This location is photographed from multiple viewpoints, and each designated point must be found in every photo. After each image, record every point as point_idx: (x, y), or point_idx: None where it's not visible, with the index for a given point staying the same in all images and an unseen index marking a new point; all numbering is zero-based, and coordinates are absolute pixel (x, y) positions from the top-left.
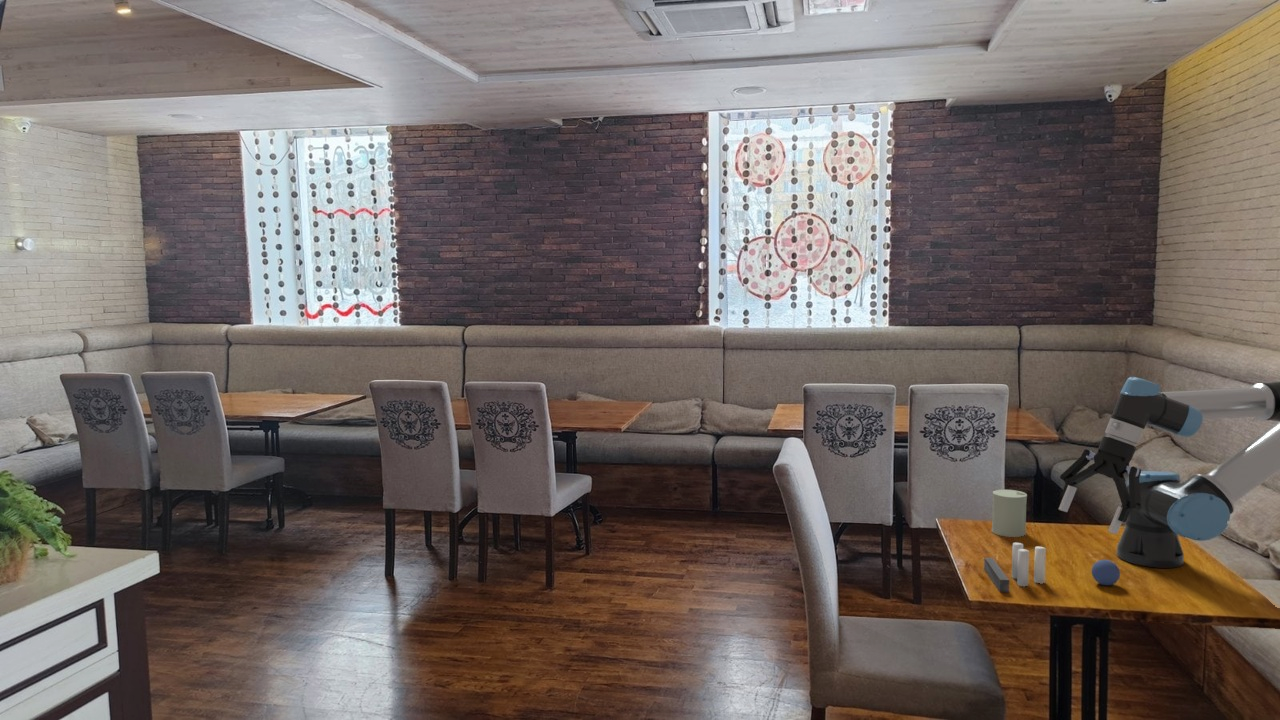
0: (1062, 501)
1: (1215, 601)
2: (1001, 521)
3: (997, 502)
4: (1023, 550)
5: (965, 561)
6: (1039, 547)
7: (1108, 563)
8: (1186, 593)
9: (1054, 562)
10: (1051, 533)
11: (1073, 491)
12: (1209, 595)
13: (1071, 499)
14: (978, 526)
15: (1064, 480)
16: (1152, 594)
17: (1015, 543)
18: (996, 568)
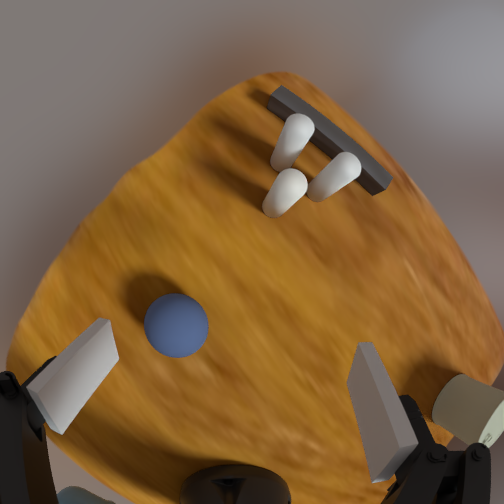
0: (380, 368)
1: None
2: (471, 384)
3: (499, 391)
4: (301, 126)
5: (420, 197)
6: (297, 185)
7: (157, 322)
8: None
9: (333, 353)
10: None
11: (374, 453)
12: None
13: (361, 424)
14: (483, 374)
15: (454, 454)
16: None
17: (355, 165)
18: (334, 133)
